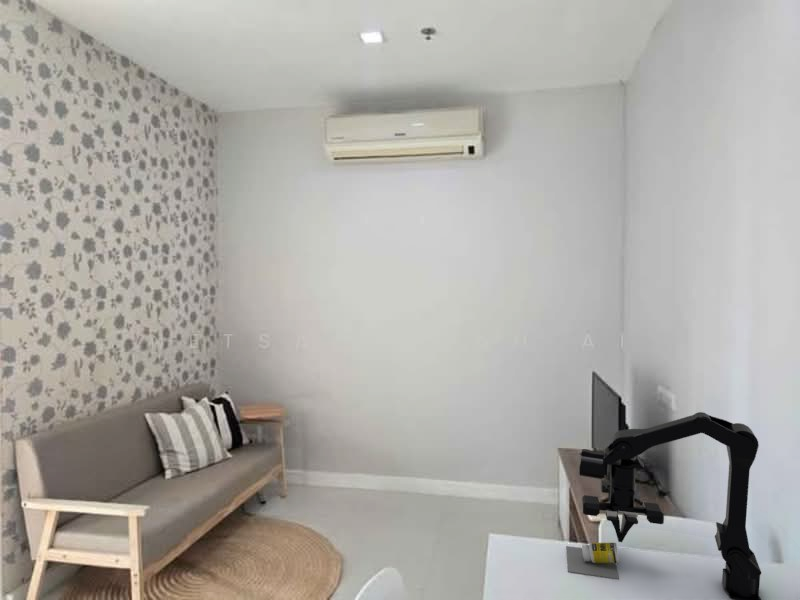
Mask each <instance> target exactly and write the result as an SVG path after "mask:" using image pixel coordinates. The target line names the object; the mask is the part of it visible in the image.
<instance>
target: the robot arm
mask: <svg viewBox="0 0 800 600" xmlns="http://www.w3.org/2000/svg"><path fill="white" fill-rule="evenodd" d="M699 434H704V435H706V436H708V437H710V438H711V439H713V440H715V441H717V442H719V443H720V444H722V445H724V446H725V447H726V451H727V457H728V462H729V463H728V475H727V476H728V477H727V489H726V490H727V491H726V492H727V493H726V504H725V505H726V506H725V507H726V508H725V518H724V520H723V523H720V522H715V523H716V524H715V526H716V533H715V535H714V539H715V543H716V547H717V551H719V552H720V554H721V557H722V559H723V560H724V561H725V568H722V578H721V580H722V581H721V584H722V585H721V586H722V587H723V589H724V591H725V592H726V593H727V596H728V597H729V598H730V599H733V600H734V599H735V600H762V598H761V596H760V585H761V583H760V581H761V575H762V571H761V568H760V566H759V563H758V560H757V558H756V555H755V552H754V551H753V550H752V549H751V548H750V543H749V539H748V534H747V533H748V532H747V528H746V527H747V526H746V525H747V512H748V511H747V510H748V499H749V497H748V496H749V482H750V481H749V480H750V470H751V467H752V465H753V464H754V461H755V459H756V457H757V456H756V455H757V453H758V450H759V447H760V446H759V441H758V439H757V437H756V435H755V433H754V432H753V430H752V428H750V427H749V426H748V425H746V424H745V423H741V422H739V423H737V422H735V423H733V422H730V421H728V420H725V419H723V418H720V417H715V416H714V415H713V416H712V415H710V414H708V413H706V412H702V411H699V412H696V413H694V414H692V415H689V416H685V417H682V418H678V419H674V420H671V421H668V422H665V423H661V424H658V425H654V426H651V427H647V428H627V429H622V430H621V429H620V430H618V431H616V432H615V433H614V434H613V437H612V442H611V443H610V444H609V445H608V446H607V447H606V448H605V449H604V451H595V450H590V449H587V448H582V450H581V455H580V464H579V468H578V469H579V477H584V478H585V477H586V478H590V479H592V478H593V479H598V480H601V482H600V492H601V493H603V494H607V500H608V502H603V501H602V502H601V501H600V499H599V496H593V495H586V494H584V495H583V496H582V497H581V509H582V514H583V515H585V516H592V517H594V516H595V517H597V516H599V514H600V511H604V513H605V518H606V520H607V521H609V522H611V524H612V526H613V527H614V530H615V536H616V538H617V541H618V542H619V543H623V541H624V539H625V538H626V536H627V534H628V532H629V531H630V530H631V528H632V527H634V525H638V524H639V519H638V516H644V517H645V516H646V521H648V522H649V523H650V524H656V525H663V524H664V522H665V515H664V512H663V509H662V507H661V506H660V505H659V503H655V502H646V501H644V502H643V503H642V506H636V505H635V492H636V491H635V490H636V489H635V487H636V469H637V470H640V471H641V470H642V471H643V470H644V469H645V464H644V462H643V461H642V460H641V459H640V457H639V456H640V455H642V454H644V453H645V452H647V451H648V450H649V449H651V448H654V447H655V446H657V447H658V446H661V445H663V444H666V443H670V442H674V441H678V440H682V439H684V438H689V437H692V436H696V435H699ZM609 466H610V478H609V479H610V481H609V480H608V479H607V480H606V479H605V478H606V477H608V476H609ZM619 513H620V514H621V513H622V517H621V523H620V518H619V517H620V516H619Z"/></svg>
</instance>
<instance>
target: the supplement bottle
mask: <svg viewBox="0 0 800 600" xmlns="http://www.w3.org/2000/svg"><path fill="white" fill-rule="evenodd" d="M581 548H582V551H583V557H584V561H588V562H589V561H590V560H591V561H592V562H593V563H616V564H619V563H620V558H619V553H618V547H617V542H590V543H589V544H587V543H585V544H582V545H581Z"/></svg>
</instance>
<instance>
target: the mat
mask: <svg viewBox="0 0 800 600" xmlns="http://www.w3.org/2000/svg"><path fill="white" fill-rule="evenodd" d="M565 547H566V549H565V550H567V551H566V561H567V562H566V563H567V564H568V565H567V573H569V572H570V574H577V575H584V576H590V577H591V576H592V577H597V578H605V579H609V580H610V579H611V580H617V581H618V580H619V581H620V576H619V571H618V566H617V563H593V562H592V561H591V560H590V561H589V562H588V561H584V557H583V551H582V547H575V546H569V545H566V546H565Z"/></svg>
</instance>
